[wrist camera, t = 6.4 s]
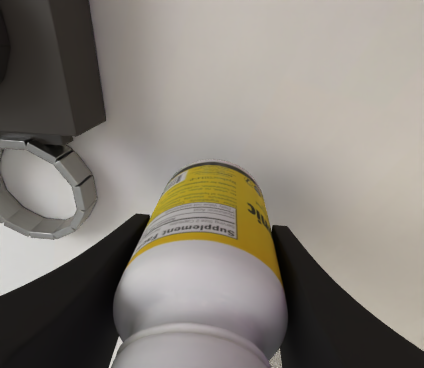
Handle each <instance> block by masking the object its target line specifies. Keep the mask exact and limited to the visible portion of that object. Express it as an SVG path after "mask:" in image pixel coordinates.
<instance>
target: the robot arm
mask: <svg viewBox="0 0 424 368" xmlns="http://www.w3.org/2000/svg"><path fill="white" fill-rule="evenodd" d="M149 220H150V215H146V214H135V215H134V216H132V217H131V218H130V219H128V220H127V221H126V222H124V223H123V224H122V225H121V226H119V227H118V228H117V229H115V230H114V231H113V232H112V233H110V234H109V235H108V236H106V237H105V238H104V239H102V240H101V241H99V242H98V243H96V244H95V245H94V246H92V247H91V248H89V249H88V250H86V251H85V252H83V253H82V254H80V255H79V256H77V257H76V258H74V259H72V260H71V261H69V262H67V263H66V264H64V265H62V266H60V267H59V268H57V269H55V270H53V271H52V272H50V273H48V274H46V275H44V276H42V277H40V278H38V279H36V280H34V281H32V282H30V283H28V284H26V285H24V286H22V287H20V288H17V289H15V290H13V291H11V292H8V293H6V294H4V295H2V296H0V368H109V365H110V362H111V358H112V355H113V352H114V349H115V346H116V343H117V340H118V337H119V334H118V332H117V329H116V326H115V323H114V318H113V301H114V296H115V292H116V289H117V286H118V284H119V282H120V279H121V277H122V275H123V272H124V271H125V269H126V267H127V265H128V263H129V261H130V259H131V257H132V255H133V253H134V251H135V249H136V247H137V245H138V243H139V240H140V238H141V237H142V234H143V232H144V230H145V228H146V226H147V224H148V222H149ZM271 233H272V237H273V242H274V246H275V250H276V255H277V260H278V264H279V269H280V274H281V278H282V282H283V287H284V291H285V297H286V303H287V309H288V325H287V330H286V334H285V337H284V340H283V342H282V344H281V346H280V351H281V360H282V368H424V351H422V350H421V349H419V348H418V347H417V346H415V345H414V344H412V343H411V342H409V341H408V340H406V339H405V338H404V337H402V336H401V335H399V334H398V333H396V332H395V331H394V330H392V329H391V328H390V327H388V326H387V325H386V324H384V323H383V322H382V321H380V320H379V319H378V318H377V317H375V316H374V315H373V314H372V313H370V312H369V311H368V310H367V309H365V308H364V307H363V306H362V305H360V304H359V303H358V302H357V301H356V300H355V299H354V298H352V297H351V296H350V295H349V294H348V293H347V292H346V291H345V290H344V289H342V288H341V287H340V286H339V285H338V284H337V283H336V282H335V281H334V280H333V279H332V278H331V277H330V276H329V275H328V274H327V273H326V272H325V271H324V270H323V269H322V268H321V266H320V265H319V264H318V263H317V262H316V261H315V260H314V259H313V257H312V256H311V255H310V254H309V253H308V252H307V250H306V249H305V248H304V247H303V245H302V244H301V243H300V242H299V241H298V239H297V238H296V237H295V235H294V234H293V233H292V232H291V230H290V229H289V228H288V227H287V226H279V225H273V227H272V232H271Z"/></svg>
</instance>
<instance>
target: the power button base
mask: <svg viewBox="0 0 424 368" xmlns="http://www.w3.org/2000/svg"><path fill="white" fill-rule="evenodd" d="M105 121H106V117H105V111H104V104H103V97H102V90H101V84H100V77H99V70H98V63H97V56H96V50H95V43H94V36H93V29H92V22H91V16H90V9H89V2H88V0H0V131H5V132H20V133H34V134H48V135H63V136H79V135H81V134H82V133H84V132H86V131H88V130H90V129H92V128H93V127H95V126H97V125H99V124H101V123H103V122H105Z"/></svg>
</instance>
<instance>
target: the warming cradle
mask: <svg viewBox="0 0 424 368" xmlns="http://www.w3.org/2000/svg"><path fill="white" fill-rule="evenodd" d="M71 141H73V137H72V136H63V135H48V134H34V133H20V132H5V131H0V159H1V155H2V151H3V150H4V149H20V150H27V151H29V152H31V153H33V154H35V155H36V156H38V157H40V158H42V159H44V160H46V161H48V162H49V163H51V164H53V165H54V166H55V167H56V168H57V170H58V171H59V172H60V173H61V174H62V176H63V177H64V178H65V179H66V180H67V182H68V183H69V184H70V185H71V186H72V190H73V194H74V198H75V203H76V207H77V211H76V213H75V215H74V216H73V217H71V218H69V219H67V220H59V219H47V218H43V217H41V216H39V215H37V214H35V213H33V212H31V211H29V210H27V209H25V208H23V207H22V206H21V205H20V204H19V203H18V202H17V201H16V200H15V198H14V197H13V196H12V195H11V194H10V193H9V192H8V191H7V190H6V188H5V185H4V183H3V180H2V178H1V175H0V223H3V222H5V223H4V226H7V227H9V228H11V229H13V230H15V231H17V232H19V233H21V234H23V235H25V236H27V237H28V236H31V238H41V239H53V240H54V239H59V238H61V237H63V236H66V235H68V234H70V233H73V232H75V231H76V230H77V229H78V228H79V227H80V226H81V225H82V223H83V222H84V221H85V220H86V219H87V218H88V217H89V215H90V213H91V211H92V209H93V207H94V205H95V203H96V201H97V200H96V198H97V194H96V189H95V183H94V178H93V175H90V174H91V172H90V170H89V169H88V168H87V166H86V165H85V164H84V163H83V161H82V160H81V159H80V157H79V156H78V155H77V154H76V152H75V151H73V152H71V150H72V149H71V148H70V147H68V146H66V144H68V143H69V142H71Z"/></svg>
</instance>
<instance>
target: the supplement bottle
mask: <svg viewBox="0 0 424 368" xmlns="http://www.w3.org/2000/svg"><path fill="white" fill-rule="evenodd" d="M113 318H114V323H115V326H116V329H117V332H118V334H119V336H120V338H121V340H122V341H123V343H122V345H121V346H120V348H119V349H118V351H117V355H116V358H115V360H114V361H113V364H112V366H111V368H271V366H270V364H269V360H270V359H271V358H272V357H273V356H274V354H275V353H276V352H277V351H278V349H279V348H280V346H281V344H282V342H283V340H284V337H285V334H286V330H287V325H288V309H287V303H286V297H285V291H284V287H283V282H282V278H281V274H280V269H279V264H278V260H277V255H276V250H275V246H274V242H273V237H272V233H271V228H270V224H269V220H268V215H267V211H266V207H265V202H264V198H263V195H262V192H261V189H260V187H259V185H258V184H257V182H256V181H255V179H254V178H253V177H252V176H251V175H250V174H249V173H248V172H247V171H246V170H244V169H243V168H241V167H240V166H238V165H236V164H233V163H231V162H227V161H223V160H216V159H208V160H200V161H196V162H193V163H190V164H188V165H186V166H185V167H183V168H181V169H180V170H179V171H178V172H176V173H175V174H174V176H173V177H172V178H171V179H170V181H169V182H168V184H167V186H166V188H165V189H164V191H163V193H162V195H161V197H160V199H159V201H158V203H157V206H156V208H155V210H154V212H153V214H152V216H151V218H150V220H149V222H148V224H147V226H146V228H145V230H144V232H143V234H142V237H141V238H140V240H139V243H138V245H137V247H136V249H135V251H134V253H133V255H132V257H131V259H130V261H129V263H128V265H127V267H126V269H125V271H124V272H123V275H122V277H121V279H120V282H119V284H118V286H117V289H116V292H115V296H114V301H113Z"/></svg>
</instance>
